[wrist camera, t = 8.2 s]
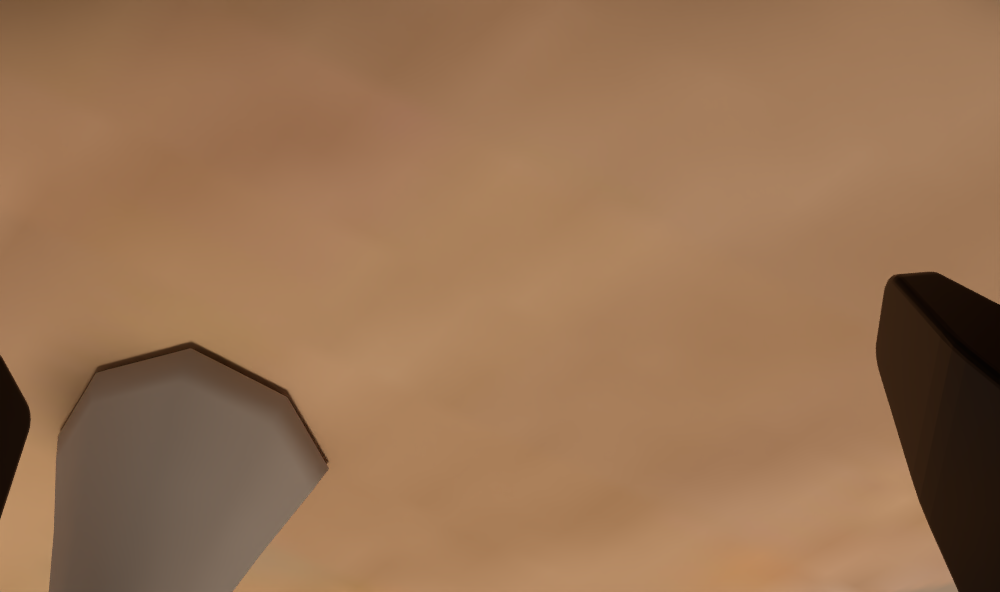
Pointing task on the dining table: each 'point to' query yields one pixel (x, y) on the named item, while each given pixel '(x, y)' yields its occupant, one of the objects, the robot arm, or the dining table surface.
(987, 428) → the robot arm
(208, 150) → the dining table surface
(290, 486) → the grey flared piece
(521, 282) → the dining table surface
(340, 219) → the dining table surface
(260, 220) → the dining table surface
